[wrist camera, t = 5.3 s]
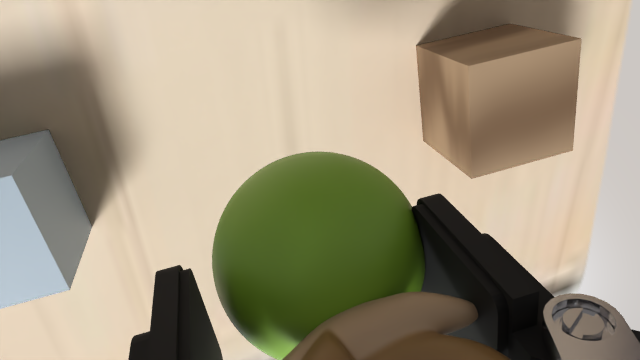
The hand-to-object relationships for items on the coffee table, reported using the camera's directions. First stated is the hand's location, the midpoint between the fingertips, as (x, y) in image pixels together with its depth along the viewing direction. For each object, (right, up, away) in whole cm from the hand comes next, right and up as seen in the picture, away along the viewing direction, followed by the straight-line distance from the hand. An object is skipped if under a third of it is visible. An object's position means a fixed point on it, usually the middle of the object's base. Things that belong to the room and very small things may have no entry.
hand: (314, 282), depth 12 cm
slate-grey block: (-13, +2, +10) cm, 17 cm away
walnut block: (+8, +7, +13) cm, 17 cm away
